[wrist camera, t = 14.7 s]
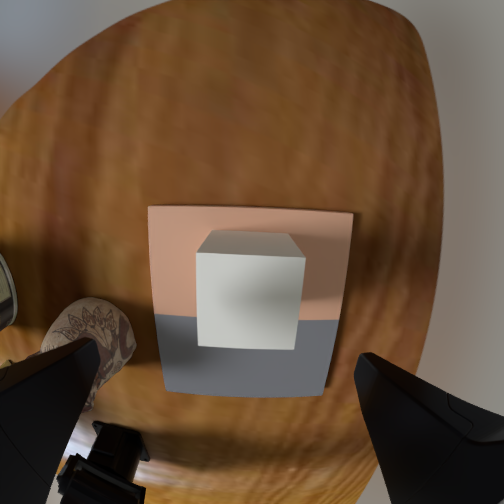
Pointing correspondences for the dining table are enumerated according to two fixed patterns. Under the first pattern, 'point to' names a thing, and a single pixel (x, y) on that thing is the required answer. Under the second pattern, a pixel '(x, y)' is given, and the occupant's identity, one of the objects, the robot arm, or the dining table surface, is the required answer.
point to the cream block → (248, 290)
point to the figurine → (94, 336)
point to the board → (237, 359)
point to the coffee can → (7, 296)
